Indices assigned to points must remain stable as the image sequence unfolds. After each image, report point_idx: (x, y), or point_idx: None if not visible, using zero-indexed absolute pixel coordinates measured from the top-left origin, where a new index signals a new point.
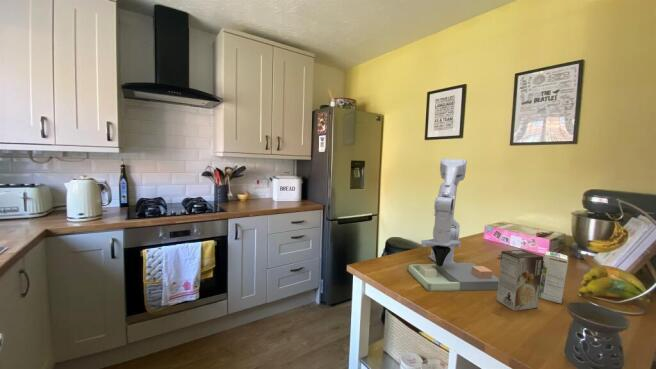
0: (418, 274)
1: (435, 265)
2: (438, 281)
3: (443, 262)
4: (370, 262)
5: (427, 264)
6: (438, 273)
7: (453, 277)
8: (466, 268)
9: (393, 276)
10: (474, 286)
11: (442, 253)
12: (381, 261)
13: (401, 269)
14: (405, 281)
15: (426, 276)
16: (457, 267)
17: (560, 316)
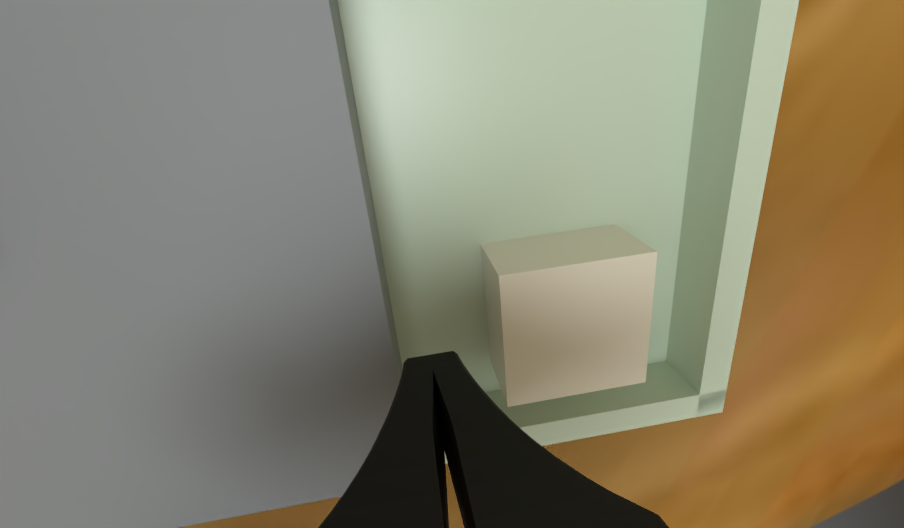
0: (763, 169)
1: None
2: (510, 128)
3: (399, 388)
4: (888, 464)
5: None
6: (414, 337)
7: (342, 73)
8: (22, 404)
9: (877, 234)
10: None
11: (485, 499)
12: (793, 497)
13: None
14: (836, 132)
15: (599, 229)
16: (157, 412)
17: None
